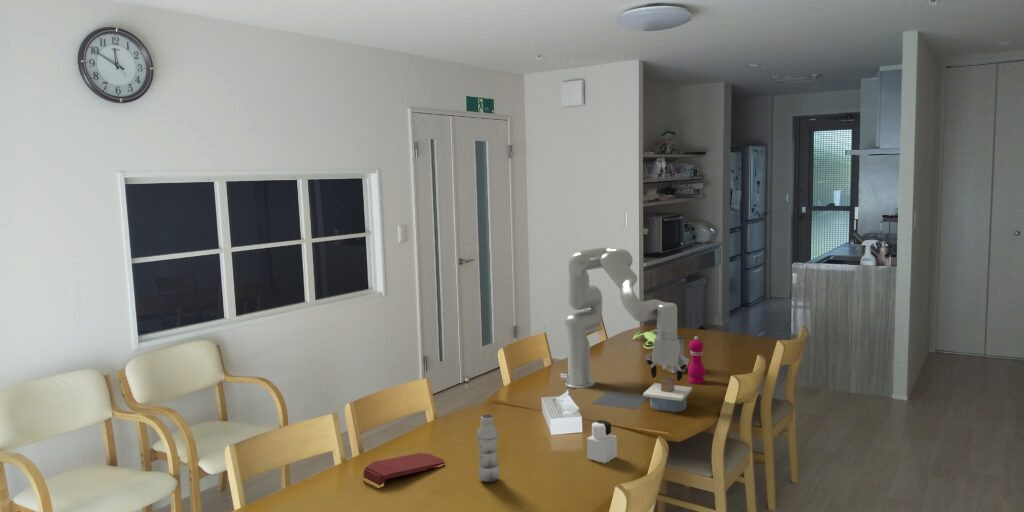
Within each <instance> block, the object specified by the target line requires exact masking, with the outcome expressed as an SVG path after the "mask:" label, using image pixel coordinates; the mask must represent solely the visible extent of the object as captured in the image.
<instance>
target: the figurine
mask: <svg viewBox="0 0 1024 512" xmlns="http://www.w3.org/2000/svg"><path fill="white" fill-rule="evenodd" d="M656 330H657V329H654V330H653V329H652V330H650V331H645V332H644V333H641V332H640V331H638V332H636V333H635V334H634V336H632V340H633V339H635V340H637V339H639V338H641V337H643V336H644V338H645V339H646V342H645V343H643V345H642V346H643V348H644V349H645V348H646V349H645V350H653V346H652V345H654V339H655V338H656V335H655V334H653V332H654V331H656ZM648 346H649V347H648Z"/></svg>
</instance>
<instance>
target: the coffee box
mask: <svg viewBox="0 0 1024 512" xmlns="http://www.w3.org/2000/svg"><path fill="white" fill-rule="evenodd" d="M677 339H679V344H680V352H681V355H683V356H684V357H685V337H684V336H683V335H682V336H681V335H680V334H677ZM680 364H681V365H683V364H684V361H683V360H682V359H681V362H680ZM662 370H664V371H667V372H668V373H672V374H673V373H674V374H677V371H678V369H677V367H676V366H666V365H662ZM682 373H685V368H684V369H683V370H682Z"/></svg>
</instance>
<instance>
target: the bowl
mask: <svg viewBox="0 0 1024 512" xmlns="http://www.w3.org/2000/svg"><path fill="white" fill-rule="evenodd" d="M649 404H650V407H651V408H652V409H654V410H657V411H661V412H662V411H663V412H672V413H679V412H683V411H685V409H687V396H686V397H685V398H684V399H683V400H682V401H678V400H670V399H662V398H653V397H649Z"/></svg>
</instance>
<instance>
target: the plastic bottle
mask: <svg viewBox="0 0 1024 512" xmlns="http://www.w3.org/2000/svg"><path fill="white" fill-rule="evenodd" d="M476 437H477V438H476V439H477V442H478V450H479V463H478V464H479V465H478V470H477V471H478V473H477V474H478V476H479V479H480V481H482V482H483V481H484V482H483V483H494V482H496V481H497V480H498V479H499V477H500V473H501V470H500V466H499V462H498V461H499V460H498V440H499V432H498V429H497V428H496V426H495V425H494V417H493V414H490V413H489V414H488V413H486V414H482V415H481V416H480V426H479V428H478V429H477V432H476ZM493 481H494V482H493Z"/></svg>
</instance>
